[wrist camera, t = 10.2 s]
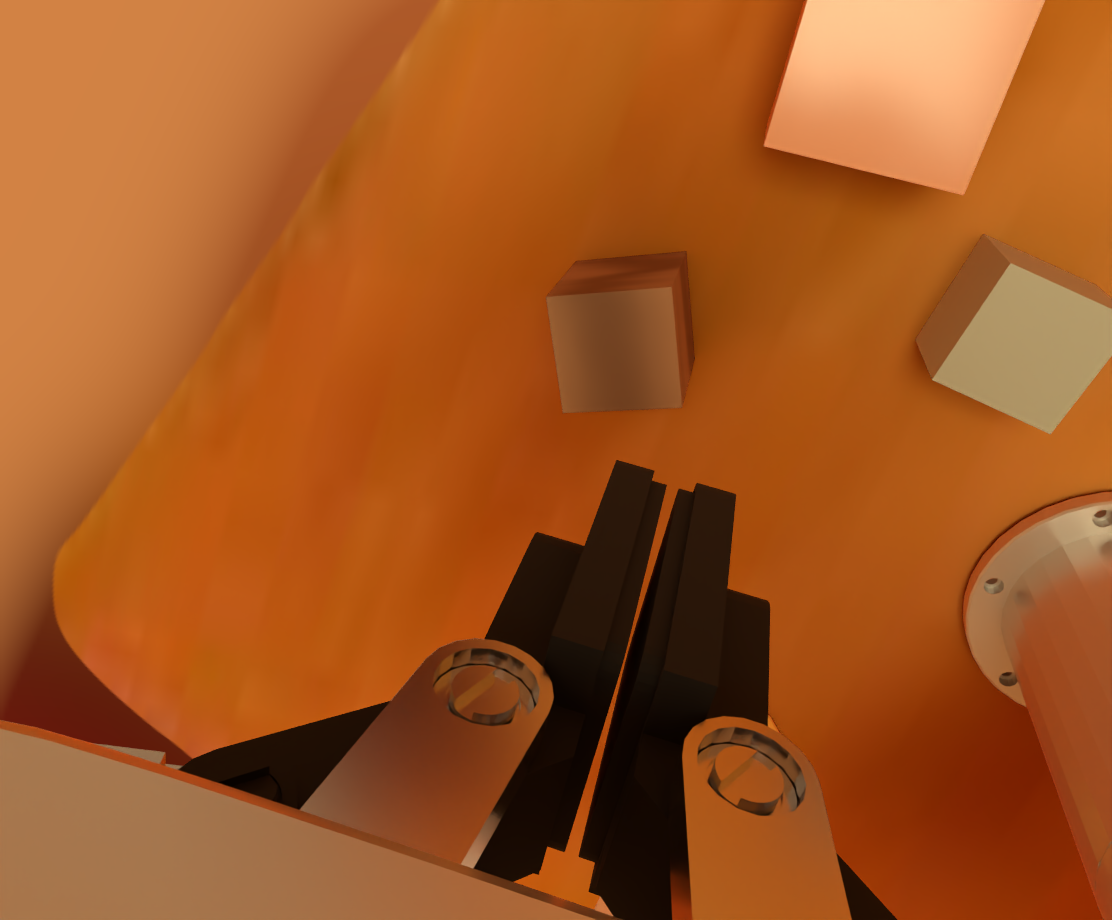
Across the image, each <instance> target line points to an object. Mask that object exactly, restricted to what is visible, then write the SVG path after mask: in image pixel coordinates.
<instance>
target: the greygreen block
mask: <svg viewBox="0 0 1112 920" xmlns="http://www.w3.org/2000/svg"><path fill="white" fill-rule="evenodd" d="M915 340H916V343H917V345H918V347H919V350H920V352H921V355H922V357H923V360H924V362H925V364H926V367H927V369H928V372H929V374H930V376H931V379H932V380H933V381H935V382H938V383H940V384H942V385H944V386H946V387H949V388H951V389H953V390H955V391H957V392H959V393H962V394H964V395H966V396H968V397H970V398H973V399H975V400H977V401H979V402H981V403H983V404H986V405H988V406H990V407H992V408H994V409H997V410H999V411H1001V412H1003V413H1005V414H1007V415H1010V416H1012V417H1014V418H1016V419H1018V420H1021V421H1023V422H1025V423H1027V424H1029V425H1031V426H1034V427H1036V428H1038V429H1040V430H1042V431H1045V432H1047V433H1049V434H1051V433H1052V432H1053V431H1054V429H1055V428H1056V427H1057V425H1058V424H1059V423H1060V422H1061V420H1062V419H1063V418H1064V416H1065V415H1066V414H1067V413H1068V411H1069V410H1070V409H1071V407H1072V406H1073V405H1074V404H1075V402H1076V401H1077V400H1078V398H1079V397H1080V396H1081V395H1082V393H1083V392H1084V391H1085V389H1086V388H1087V387H1088V386H1089V384H1090V383H1091V382H1092V380H1093V379H1094V378H1095V377H1096V375H1097V374H1098V373H1099V371H1100V370H1101V369H1102V368H1103V366H1104V365H1105V364H1106V362H1107V361H1108V360H1109V359H1110V357H1111V356H1112V298H1111V297H1110V296H1108V295H1107V294H1106V293H1105V292H1104V291H1103V290H1101V289H1100V288H1099V287H1098V286H1097V285H1095V284H1093V283H1091V282H1088V281H1086V280H1084V279H1082V278H1080V277H1077V276H1075V275H1073V274H1071V273H1069V272H1066V271H1064V270H1062V269H1060V268H1058V267H1055V266H1053V265H1051V264H1049V263H1047V262H1044V261H1042V260H1040V259H1038V258H1036V257H1033V256H1031V255H1029V254H1027V253H1025V252H1022V251H1020V250H1018V249H1016V248H1014V247H1011V246H1009V245H1007V244H1005V243H1003V242H1000V241H998V240H996V239H994V238H991V237H989V236H987V235H985V234H983V235H982V237H981V238H980V240H979V241H978V243H977V245H976V246H975V248H974V249H973V251H972V252H971V254H970V255H969V257H968V259H967V260H966V262H965V263H964V265H963V266H962V268H961V269H960V271H959V272H958V274H957V276H956V277H955V279H954V280H953V282H952V283H951V285H950V286H949V288H948V290H947V291H946V293H945V294H944V296H943V297H942V299H941V300H940V302H939V303H938V305H937V307H936V308H935V310H934V311H933V313H932V314H931V316H930V317H929V319H928V321H927V322H926V324H925V325H924V327H923V328H922V330H921V331H920V333H919V334H918V336H917V338H916V339H915Z"/></svg>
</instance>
